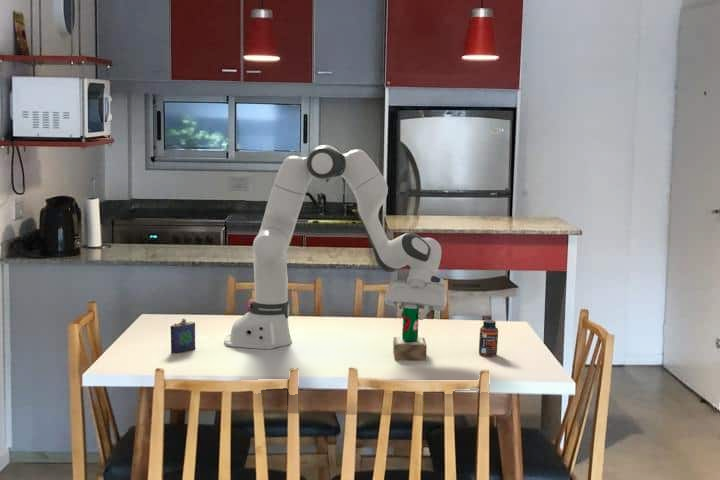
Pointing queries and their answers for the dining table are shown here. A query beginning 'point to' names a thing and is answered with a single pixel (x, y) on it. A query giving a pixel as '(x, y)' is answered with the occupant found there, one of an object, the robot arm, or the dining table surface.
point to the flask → (182, 337)
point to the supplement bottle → (488, 339)
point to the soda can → (410, 322)
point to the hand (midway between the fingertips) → (410, 317)
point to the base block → (409, 349)
